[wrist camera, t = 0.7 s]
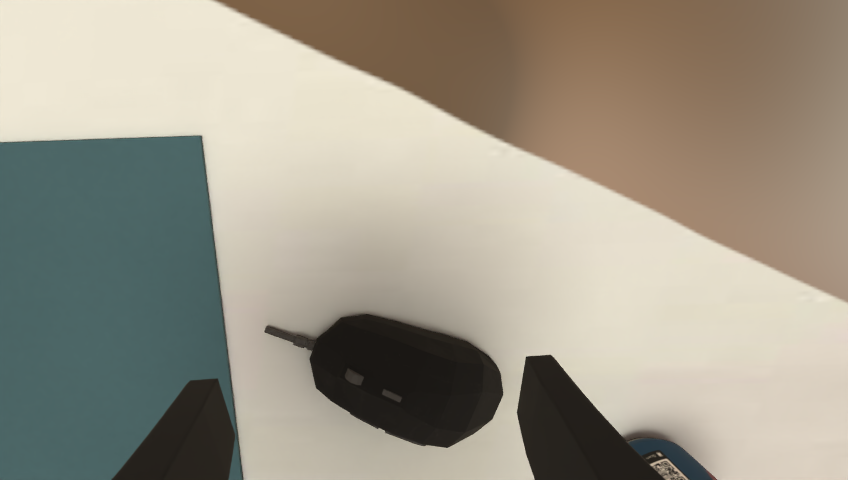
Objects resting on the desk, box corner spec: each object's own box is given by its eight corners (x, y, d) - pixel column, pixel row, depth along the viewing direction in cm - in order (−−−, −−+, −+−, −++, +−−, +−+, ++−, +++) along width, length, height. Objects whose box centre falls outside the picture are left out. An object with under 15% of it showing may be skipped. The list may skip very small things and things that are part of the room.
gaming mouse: (284, 278, 28) (275, 299, 25) (512, 354, 32) (536, 384, 28) (247, 376, 29) (233, 411, 25) (474, 442, 32) (491, 482, 28)
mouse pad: (249, 530, 31) (248, 534, 31) (-80, 577, 28) (-84, 582, 28) (201, 135, 26) (200, 135, 26) (-196, 149, 24) (-203, 149, 24)
